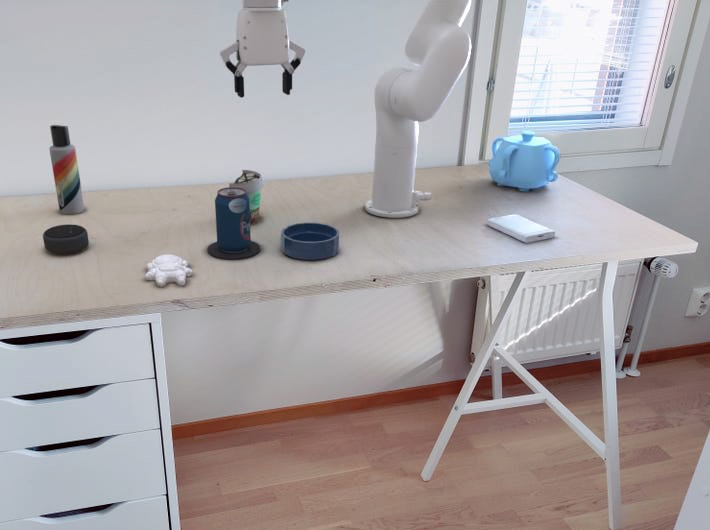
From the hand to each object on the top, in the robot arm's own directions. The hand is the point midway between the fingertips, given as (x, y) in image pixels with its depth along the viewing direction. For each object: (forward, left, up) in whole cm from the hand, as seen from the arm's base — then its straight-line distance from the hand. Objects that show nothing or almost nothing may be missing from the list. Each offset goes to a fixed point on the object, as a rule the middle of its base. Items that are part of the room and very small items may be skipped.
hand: (263, 95), depth 145 cm
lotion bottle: (+41, -25, -28) cm, 56 cm away
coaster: (+10, +11, -28) cm, 32 cm away
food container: (+2, -6, -28) cm, 29 cm away
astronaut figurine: (+25, +20, -28) cm, 43 cm away
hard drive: (-53, +19, -28) cm, 63 cm away
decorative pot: (-73, -12, -28) cm, 79 cm away
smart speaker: (+43, 0, -28) cm, 52 cm away
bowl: (-5, +16, -28) cm, 33 cm away
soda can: (+10, +11, -28) cm, 32 cm away
